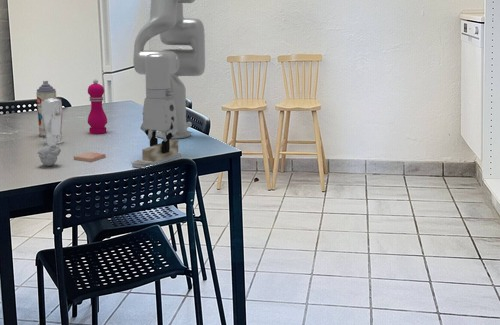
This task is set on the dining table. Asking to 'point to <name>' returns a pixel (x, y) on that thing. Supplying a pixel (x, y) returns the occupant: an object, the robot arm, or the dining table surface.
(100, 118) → the pepper mill
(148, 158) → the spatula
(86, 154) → the tile
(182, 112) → the robot arm
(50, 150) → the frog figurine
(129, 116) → the dining table surface
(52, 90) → the aerosol can
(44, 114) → the beer glass
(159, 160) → the board
